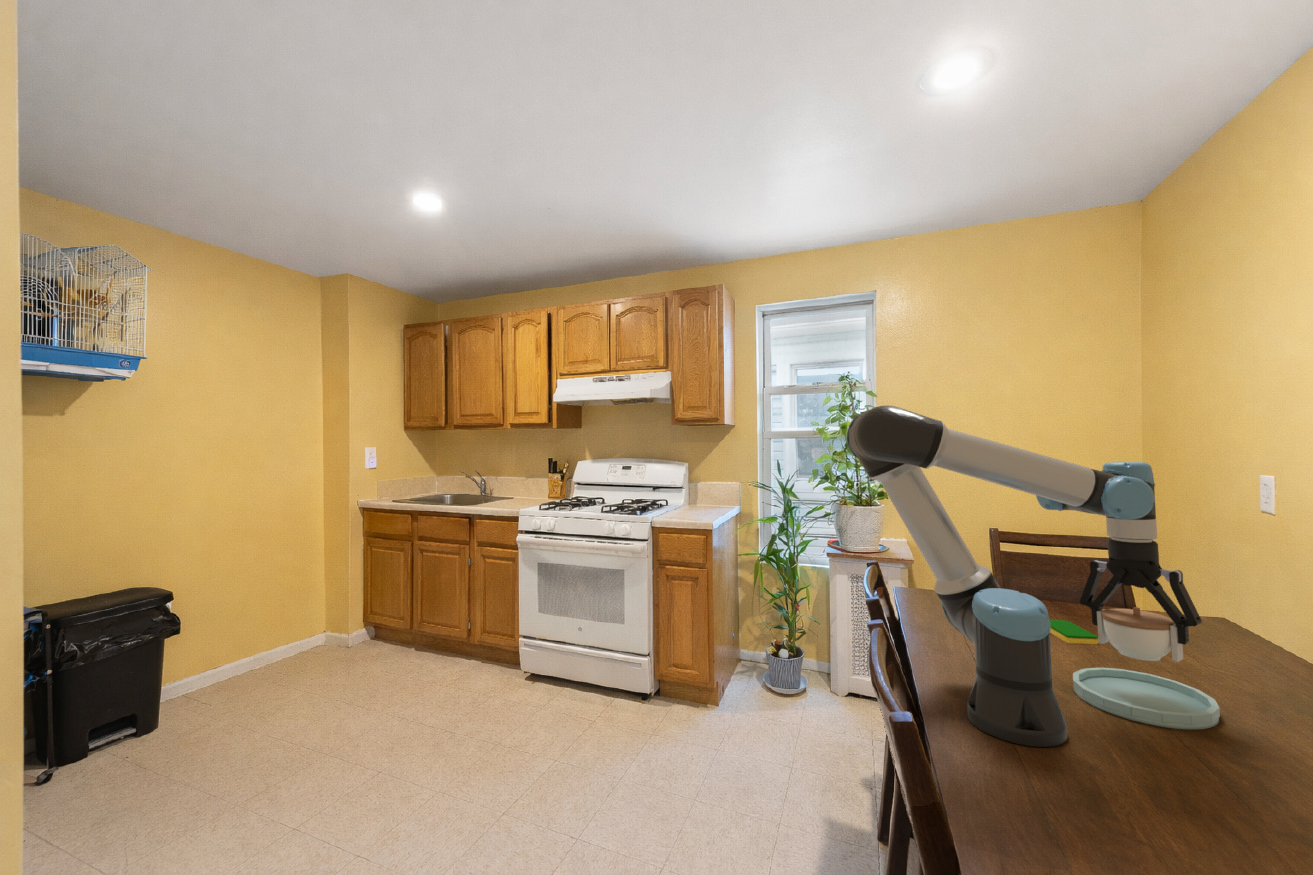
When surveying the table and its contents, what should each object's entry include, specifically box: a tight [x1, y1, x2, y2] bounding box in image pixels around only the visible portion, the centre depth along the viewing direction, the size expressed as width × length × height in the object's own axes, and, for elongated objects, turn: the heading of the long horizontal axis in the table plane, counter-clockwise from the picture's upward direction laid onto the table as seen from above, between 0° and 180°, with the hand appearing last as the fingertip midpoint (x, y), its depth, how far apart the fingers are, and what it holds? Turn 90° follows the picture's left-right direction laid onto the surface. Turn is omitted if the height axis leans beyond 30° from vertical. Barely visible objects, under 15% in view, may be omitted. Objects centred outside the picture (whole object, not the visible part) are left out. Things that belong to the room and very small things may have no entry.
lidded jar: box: [1102, 606, 1175, 662], centre depth 104 cm, size 11×11×9 cm
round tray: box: [1072, 667, 1221, 731], centre depth 104 cm, size 21×21×2 cm
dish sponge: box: [1049, 619, 1099, 645], centre depth 142 cm, size 7×14×2 cm, turn 169°
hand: (1139, 650), depth 104 cm, fingers closed on lidded jar, 11 cm apart
